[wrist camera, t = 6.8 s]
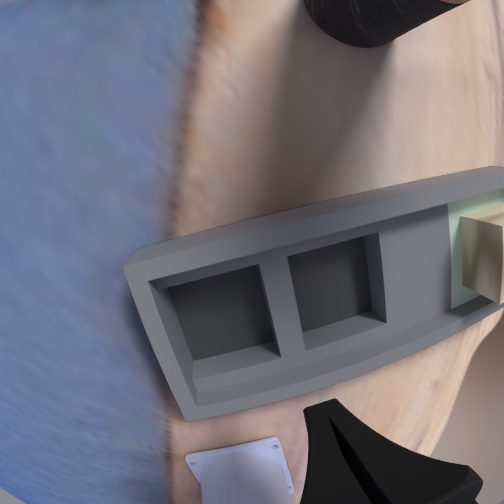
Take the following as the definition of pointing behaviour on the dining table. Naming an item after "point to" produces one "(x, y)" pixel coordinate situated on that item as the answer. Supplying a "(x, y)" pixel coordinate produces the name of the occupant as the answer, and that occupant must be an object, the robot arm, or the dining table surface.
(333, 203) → the tray
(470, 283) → the birch block
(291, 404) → the dining table surface
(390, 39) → the travel mug
